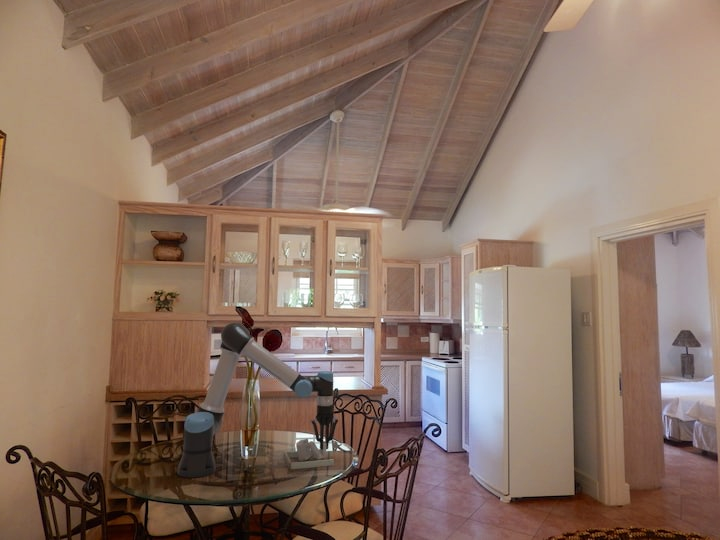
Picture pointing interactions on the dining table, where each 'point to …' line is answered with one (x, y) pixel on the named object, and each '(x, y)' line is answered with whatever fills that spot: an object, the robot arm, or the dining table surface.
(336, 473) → the dining table surface
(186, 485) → the dining table surface
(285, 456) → the keeper channel
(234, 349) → the robot arm
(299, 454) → the wall hook
